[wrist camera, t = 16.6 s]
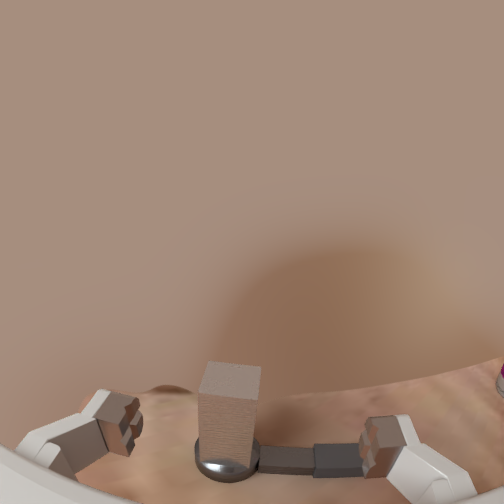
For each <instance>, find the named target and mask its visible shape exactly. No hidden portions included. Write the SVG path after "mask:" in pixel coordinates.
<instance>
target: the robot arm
mask: <svg viewBox="0 0 504 504" xmlns="http://www.w3.org/2000/svg"><path fill="white" fill-rule="evenodd" d="M139 407H140V402H139V399H138V398H136V397H132V396H128V395H124V394H121V393H117V392H112V391H109V390H105V389H100V390H98V391H97V392H96V394H95V395H94V396H93V398H92V399H91V401H90V402H89V403H88V405H87V406H86V407H85V409H84V410H83V411H82V413H81V414H79V413H76V414H74V415H71V416H69V417H67V418H64V419H61V420H59V421H56V422H54V423H51V424H49V425H46V426H43V427H41V428H38V429H35V430H33V431H30V432H29V433H28V434H27V435H26V437H25V438H24V439H23V440H22V442H21V443H20V444H19V445H18V446H17V448H16V449H15V450H14V451H13V450H11V449H10V448H8V447H6V446H5V445H3V444H1V443H0V504H143V503H139V502H136V501H132V500H129V499H125V498H122V497H119V496H116V495H113V494H110V493H107V492H104V491H101V490H98V489H96V488H93V487H90V486H88V485H85V484H82V483H80V482H79V481H78V479H77V478H76V476H75V474H76V473H77V472H79V471H81V470H82V469H84V468H85V467H87V466H89V465H90V464H92V463H93V462H95V461H97V460H98V459H100V458H101V457H103V456H104V455H106V454H107V453H108V452H111V453H115V454H119V455H122V456H126V457H129V456H130V454H131V452H132V450H133V448H134V446H135V443H134V439H136V438H138V437H139V436H140V434H141V432H142V428H143V416H142V413H141V412H140V411H139V410H138V409H139ZM365 428H366V430H365V431H363V432H362V433H361V436H360V439H359V454H360V457H361V458H363V459H364V461H363V464H362V469H363V473H364V478H365V479H369V478H381V477H387V479H388V480H389V481H390V482H391V483H392V484H393V485H394V486H395V487H396V488H397V489H398V490H399V491H400V492H401V493H402V494H403V495H404V496H405V497H406V498H407V499H408V500H409V501H410V502H411V503H412V504H504V485H503V486H500V487H498V488H495V489H492V490H490V491H487V492H484V493H482V494H479V495H478V494H477V492H476V490H475V487H474V485H473V483H472V480H471V478H470V476H469V474H468V472H467V471H465V470H464V469H462V468H461V467H459V466H458V465H456V464H455V463H453V462H452V461H450V460H448V459H447V458H445V457H444V456H442V455H441V454H439V453H438V452H436V451H435V450H433V449H432V448H430V447H429V446H428V445H426V444H425V443H424V444H421V443H420V440H419V438H418V436H417V433H416V431H415V429H414V426H413V424H412V422H411V419H410V417H409V415H407V414H401V415H394V416H393V415H391V416H378V417H368V418H367V420H366V422H365Z"/></svg>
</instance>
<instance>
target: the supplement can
mask: <svg viewBox="0 0 504 504" xmlns="http://www.w3.org/2000/svg"><path fill="white" fill-rule="evenodd" d="M496 386H497V390H498V392H499V394H500V395H501V396H502V397H504V364H503V367H502V369H501V371H500V373H499V376H498V378H497V380H496Z"/></svg>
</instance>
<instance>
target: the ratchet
mask: <svg viewBox="0 0 504 504" xmlns="http://www.w3.org/2000/svg"><path fill="white" fill-rule="evenodd" d="M363 461H364V459H363V458H361V457H360V454H359V443H353V444H314V447H313V448H291V447H275V446H262V445H261V447H260V446H259V443H258V442H257V440H256V439H255V438H254V437H253V443H252V450H251V458H250V465H249V468H239V467H231V466H223V465H216V464H210V463H204V462H200V451H199V438H198V439H197V441H196V443H195V462H196V465H197V467H198V469H199V470H200V472H201V473H202V474H204V475H205V476H206V477H208V478H210V479H212V480H214V481H218V482H223V483H234V482H239V481H242V480H245V479H247V478H248V477H250V476H251V475H252V474H253V473H254V472H255V471H256V469H257V467H258V473H270V474H288V475H313V478H338V477H359V476H364V473H363V469H362V464H363ZM258 463H259V464H258Z"/></svg>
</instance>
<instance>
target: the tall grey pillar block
mask: <svg viewBox="0 0 504 504" xmlns="http://www.w3.org/2000/svg"><path fill="white" fill-rule="evenodd" d="M260 373H261V367H257V366H248V365H239V364H230V363H222V362H215V361H209V362H208V365H207V368H206V370H205V373H204V376H203V379H202V382H201V385H200V387H199V390H198V425H199V451H200V462H204V463H210V464H216V465H223V466H231V467H239V468H249V465H250V458H251V450H252V443H253V435H254V427H255V419H256V411H257V403H258V394H259V384H260Z"/></svg>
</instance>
